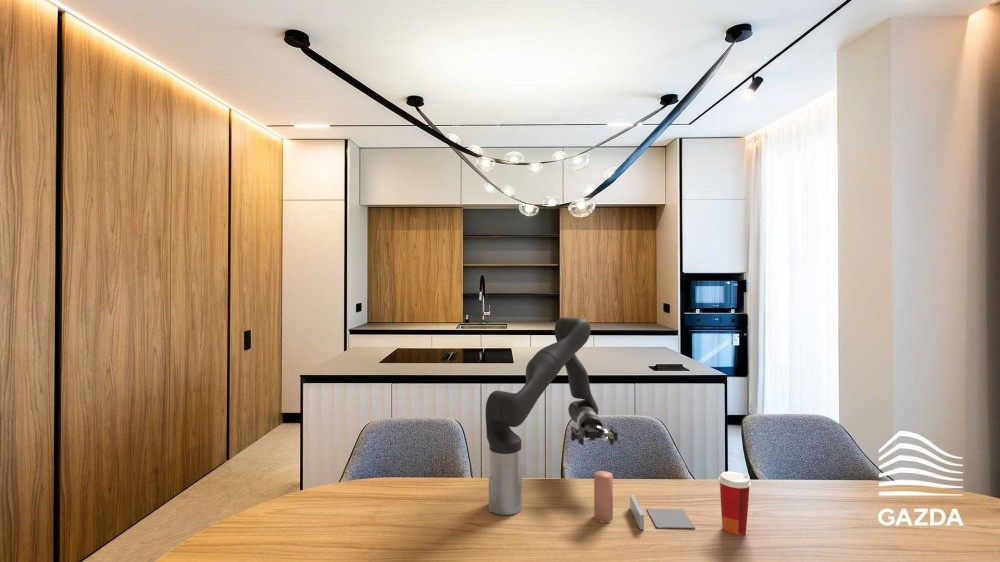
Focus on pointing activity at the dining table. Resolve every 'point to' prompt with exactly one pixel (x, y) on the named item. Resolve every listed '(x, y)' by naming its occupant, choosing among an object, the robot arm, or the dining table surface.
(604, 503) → the salmon pink cylinder
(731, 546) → the dining table surface
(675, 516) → the resting mat
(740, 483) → the paper cup
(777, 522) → the dining table surface
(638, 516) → the acrylic wall
